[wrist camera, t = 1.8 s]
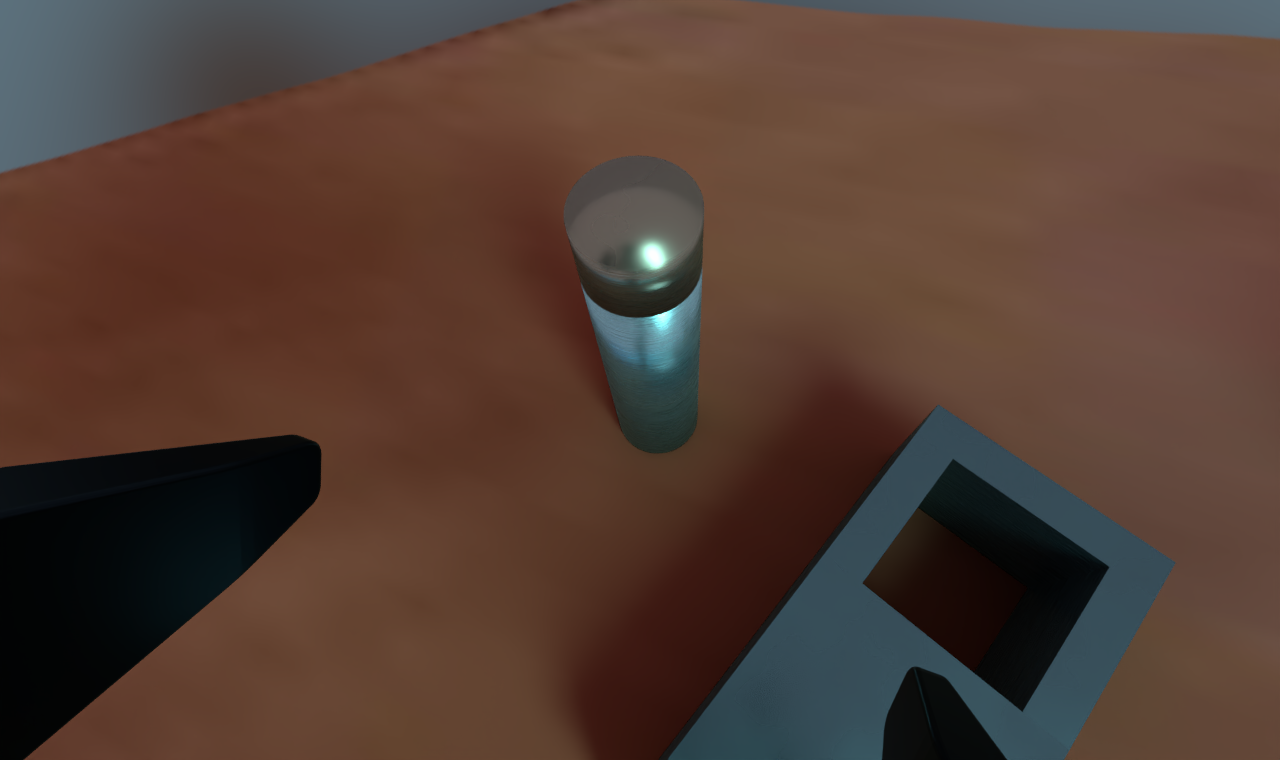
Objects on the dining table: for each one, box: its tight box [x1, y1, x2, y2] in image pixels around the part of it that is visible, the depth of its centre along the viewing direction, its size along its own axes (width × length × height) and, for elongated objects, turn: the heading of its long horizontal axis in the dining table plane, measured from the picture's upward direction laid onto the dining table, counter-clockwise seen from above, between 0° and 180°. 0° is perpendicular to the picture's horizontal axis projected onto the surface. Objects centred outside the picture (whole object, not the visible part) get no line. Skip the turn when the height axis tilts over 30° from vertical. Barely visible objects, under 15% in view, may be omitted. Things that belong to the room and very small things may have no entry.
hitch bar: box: [659, 405, 1175, 760], centre depth 18 cm, size 15×7×4 cm, turn 138°
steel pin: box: [564, 156, 704, 453], centre depth 19 cm, size 3×3×12 cm
